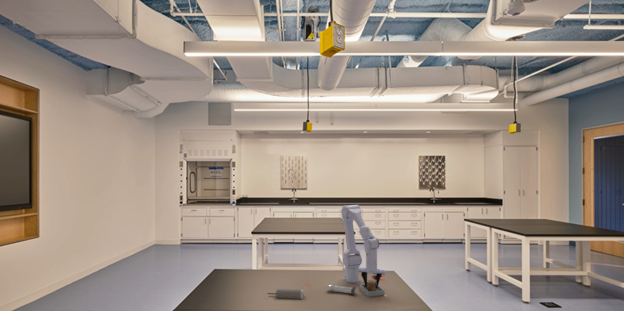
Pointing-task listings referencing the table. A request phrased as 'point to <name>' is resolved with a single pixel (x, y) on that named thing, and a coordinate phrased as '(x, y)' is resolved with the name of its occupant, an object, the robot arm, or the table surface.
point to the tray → (371, 293)
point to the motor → (289, 293)
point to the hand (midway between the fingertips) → (371, 287)
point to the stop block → (371, 285)
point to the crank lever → (340, 289)
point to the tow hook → (375, 277)
